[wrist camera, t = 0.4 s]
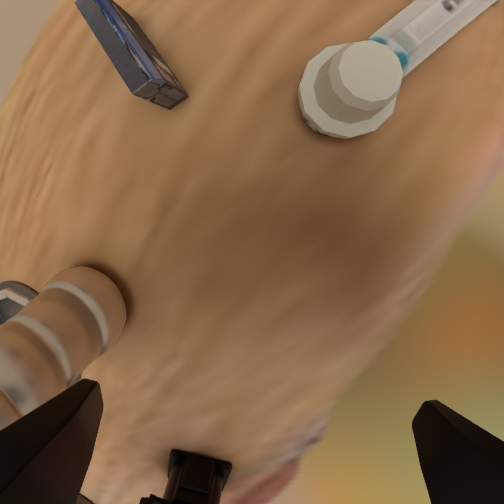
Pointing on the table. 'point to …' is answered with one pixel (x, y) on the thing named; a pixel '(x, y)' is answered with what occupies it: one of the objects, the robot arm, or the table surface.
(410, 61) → the white handheld device
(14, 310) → the pad
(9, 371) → the plastic bottle
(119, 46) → the mini dv tape
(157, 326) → the table surface
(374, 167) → the table surface
